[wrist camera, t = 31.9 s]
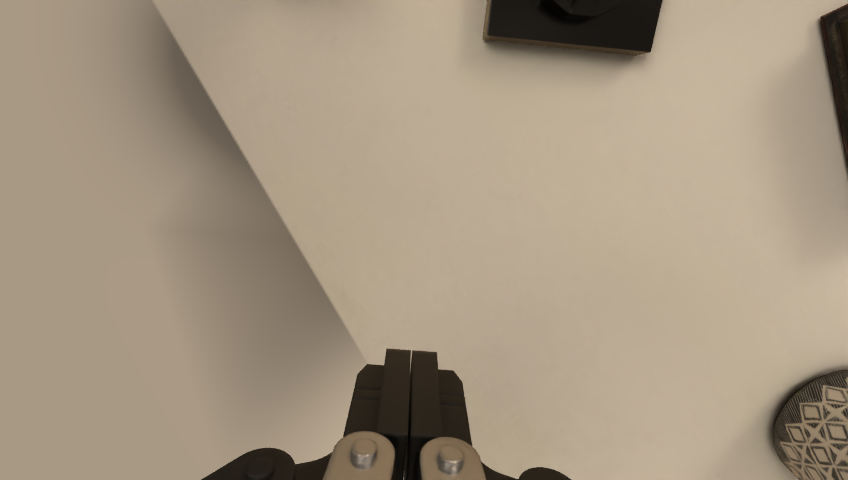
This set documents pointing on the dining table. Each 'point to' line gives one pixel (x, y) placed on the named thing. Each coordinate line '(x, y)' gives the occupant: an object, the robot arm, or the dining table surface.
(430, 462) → the robot arm
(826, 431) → the planter
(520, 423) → the dining table surface
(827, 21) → the diary
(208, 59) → the dining table surface
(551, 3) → the control block
